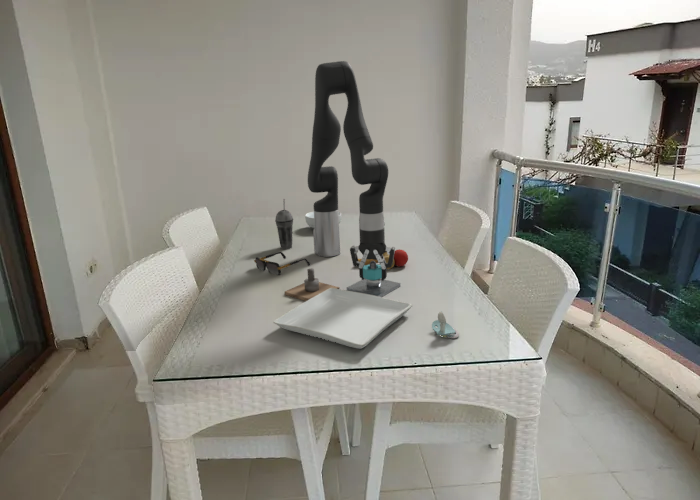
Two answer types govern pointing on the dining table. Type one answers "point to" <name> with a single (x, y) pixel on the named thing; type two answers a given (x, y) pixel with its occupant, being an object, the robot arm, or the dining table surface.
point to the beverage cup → (284, 228)
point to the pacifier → (444, 327)
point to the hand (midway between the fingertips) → (373, 279)
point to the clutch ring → (372, 272)
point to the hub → (374, 285)
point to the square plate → (344, 317)
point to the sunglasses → (274, 264)
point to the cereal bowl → (310, 219)
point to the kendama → (398, 260)
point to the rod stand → (309, 288)
